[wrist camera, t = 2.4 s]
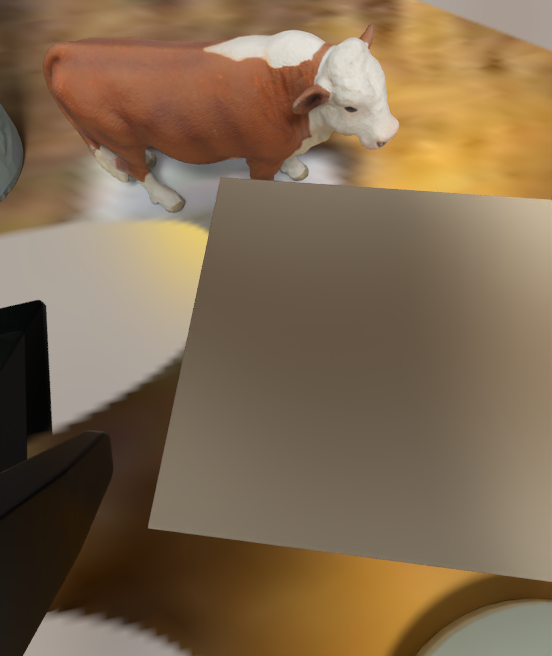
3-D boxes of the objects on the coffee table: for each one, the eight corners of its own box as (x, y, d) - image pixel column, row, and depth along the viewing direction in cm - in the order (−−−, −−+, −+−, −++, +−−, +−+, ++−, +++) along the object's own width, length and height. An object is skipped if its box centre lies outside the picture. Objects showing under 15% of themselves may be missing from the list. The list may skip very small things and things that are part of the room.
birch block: (378, 543, 16) (616, 590, 4) (254, 527, 17) (148, 528, 5) (382, 418, 18) (558, 200, 6) (269, 406, 18) (220, 177, 6)
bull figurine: (369, 249, 21) (410, 95, 13) (92, 206, 22) (-10, 46, 15) (380, 173, 23) (423, -1, 15) (121, 138, 24) (43, -36, 17)
